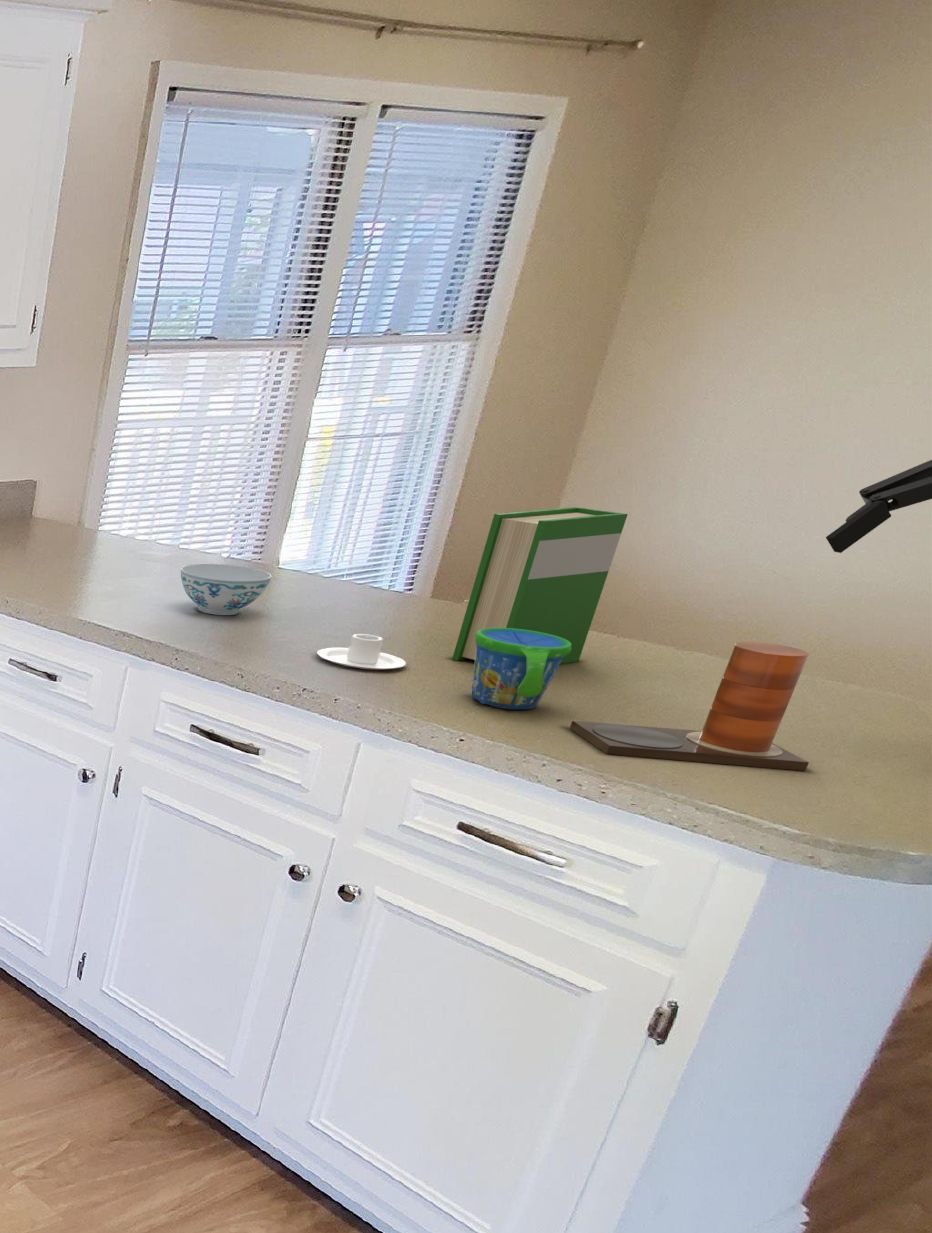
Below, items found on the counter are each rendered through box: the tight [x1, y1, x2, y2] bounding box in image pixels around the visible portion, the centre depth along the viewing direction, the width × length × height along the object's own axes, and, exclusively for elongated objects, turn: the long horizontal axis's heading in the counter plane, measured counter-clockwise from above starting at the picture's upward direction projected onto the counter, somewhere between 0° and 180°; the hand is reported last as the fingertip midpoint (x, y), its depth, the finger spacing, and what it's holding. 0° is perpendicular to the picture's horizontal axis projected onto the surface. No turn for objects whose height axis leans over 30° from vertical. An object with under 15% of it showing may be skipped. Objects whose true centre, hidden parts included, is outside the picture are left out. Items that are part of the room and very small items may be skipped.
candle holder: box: [316, 633, 407, 670], centre depth 183 cm, size 12×12×4 cm
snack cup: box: [471, 628, 571, 711], centre depth 162 cm, size 16×10×10 cm
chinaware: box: [180, 563, 272, 616], centre depth 215 cm, size 15×15×8 cm
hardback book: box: [451, 506, 629, 664], centre depth 179 cm, size 18×7×24 cm, turn 106°
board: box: [569, 720, 809, 772], centre depth 146 cm, size 10×20×1 cm, turn 71°
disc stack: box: [700, 641, 810, 752], centre depth 142 cm, size 6×6×13 cm
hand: (894, 556), depth 136 cm, fingers open, 13 cm apart
